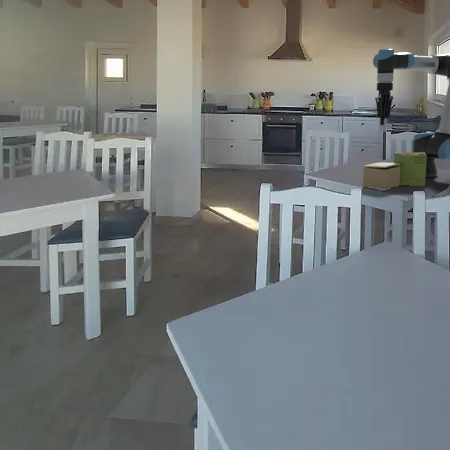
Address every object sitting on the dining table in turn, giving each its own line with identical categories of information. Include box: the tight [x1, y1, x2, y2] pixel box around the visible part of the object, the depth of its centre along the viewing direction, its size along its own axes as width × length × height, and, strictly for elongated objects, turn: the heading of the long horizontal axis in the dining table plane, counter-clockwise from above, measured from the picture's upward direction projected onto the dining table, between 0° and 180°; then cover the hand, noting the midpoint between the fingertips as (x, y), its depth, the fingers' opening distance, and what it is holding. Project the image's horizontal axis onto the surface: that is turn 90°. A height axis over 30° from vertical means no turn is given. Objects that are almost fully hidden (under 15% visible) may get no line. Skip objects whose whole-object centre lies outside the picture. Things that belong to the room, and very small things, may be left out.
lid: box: [363, 161, 400, 168], centre depth 318 cm, size 14×12×1 cm
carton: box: [362, 166, 400, 190], centre depth 320 cm, size 14×12×10 cm
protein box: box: [393, 151, 427, 187], centre depth 326 cm, size 10×15×16 cm
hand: (383, 131), depth 315 cm, fingers closed
